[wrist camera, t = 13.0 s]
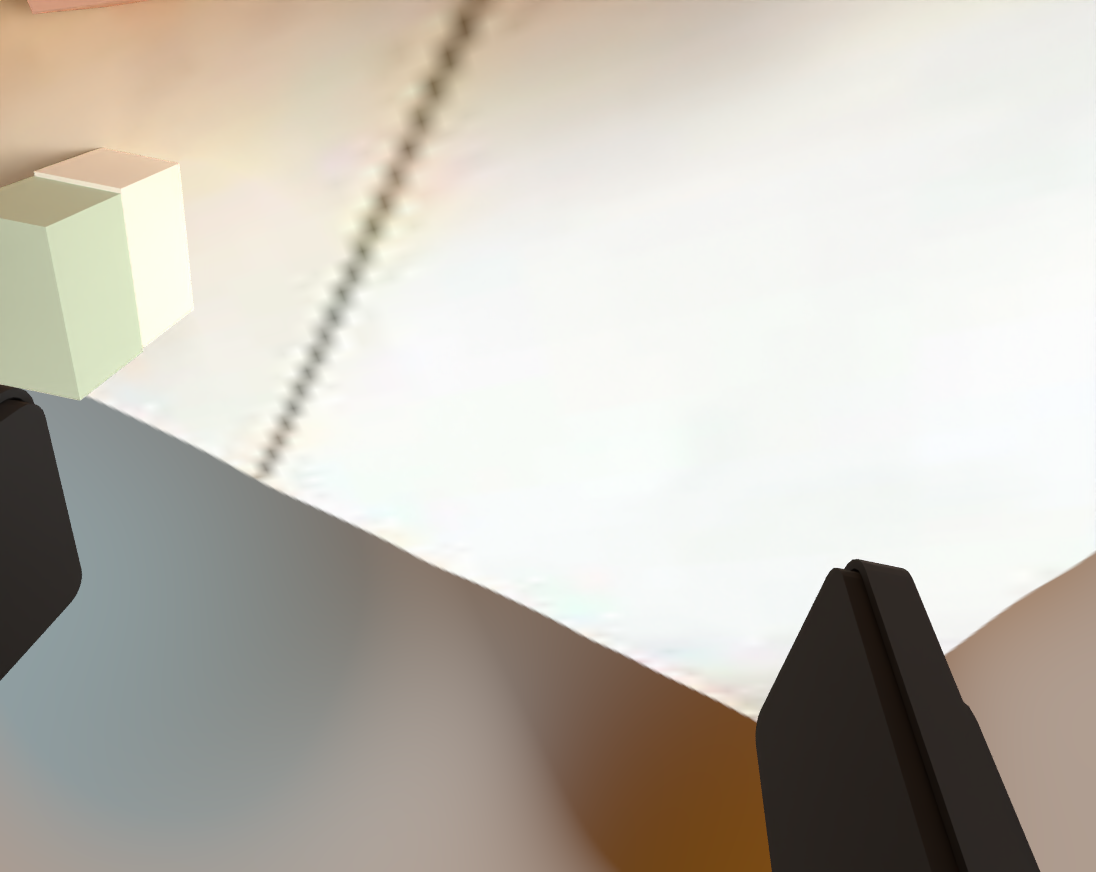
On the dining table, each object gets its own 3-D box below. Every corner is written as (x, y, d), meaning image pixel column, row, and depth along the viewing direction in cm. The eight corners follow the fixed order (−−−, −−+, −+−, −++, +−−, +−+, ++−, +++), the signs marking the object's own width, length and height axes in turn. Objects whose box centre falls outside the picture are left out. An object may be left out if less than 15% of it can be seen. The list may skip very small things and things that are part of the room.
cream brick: (102, 147, 38) (33, 171, 34) (179, 162, 38) (120, 188, 34) (124, 295, 43) (66, 332, 38) (194, 309, 43) (143, 348, 38)
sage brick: (33, 176, 34) (-54, 207, 30) (120, 193, 34) (45, 227, 30) (65, 335, 38) (-7, 382, 34) (142, 351, 38) (80, 400, 34)
